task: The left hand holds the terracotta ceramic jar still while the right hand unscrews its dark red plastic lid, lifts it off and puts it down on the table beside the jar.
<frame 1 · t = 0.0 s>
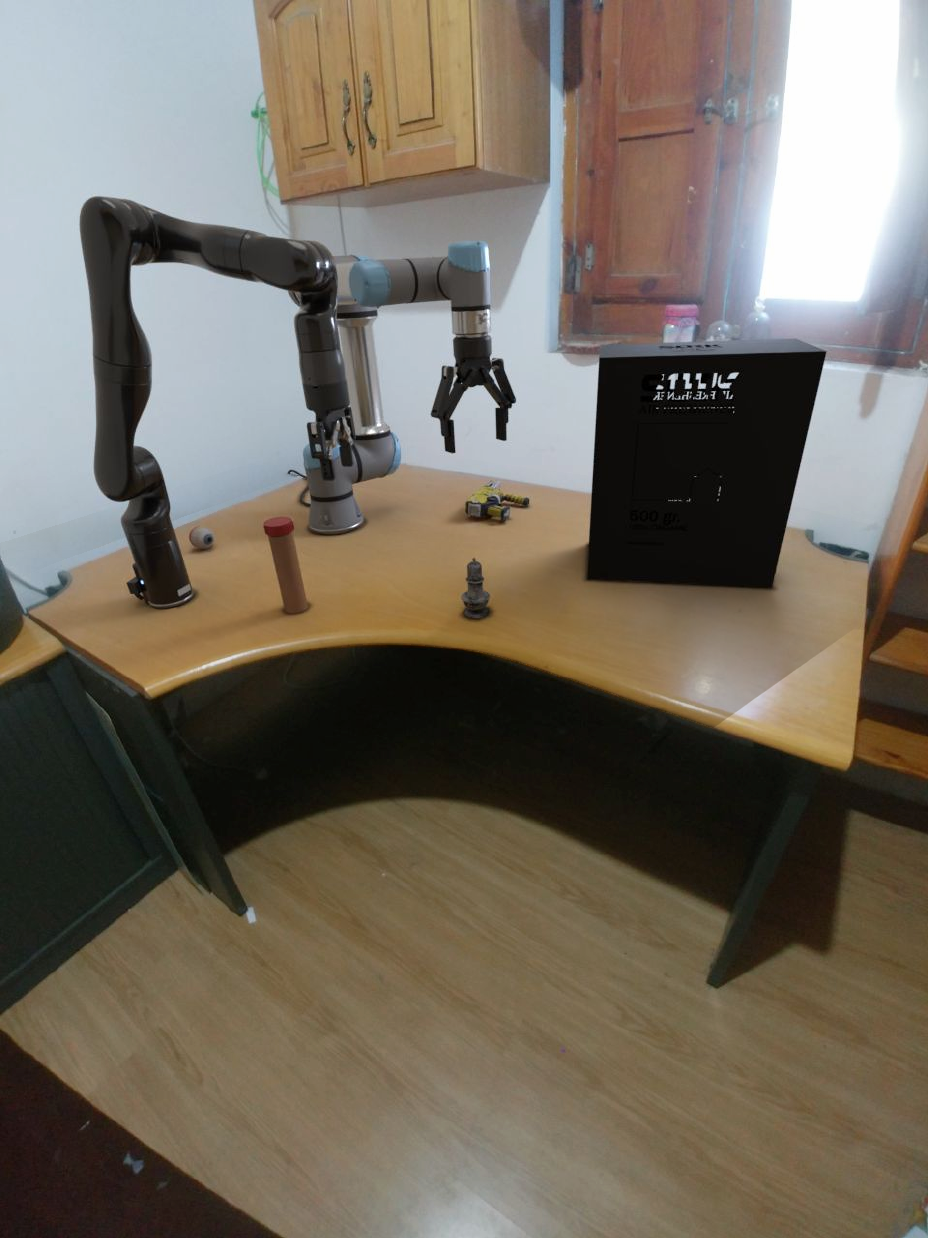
left hand: (339, 472, 110), 29 cm above the table, tool pointing down, fingers open, 8 cm apart
right hand: (476, 445, 127), 28 cm above the table, tool pointing down, fingers open, 13 cm apart
cardboard box: (672, 564, 137), on the table
eyeball: (205, 548, 159), on the table
dark grey tiered figure: (476, 612, 122), on the table
toy gun: (501, 508, 175), on the table
jar: (296, 608, 128), on the table
lid: (277, 523, 118), point 19 cm above the table, screwed on, not yet turned
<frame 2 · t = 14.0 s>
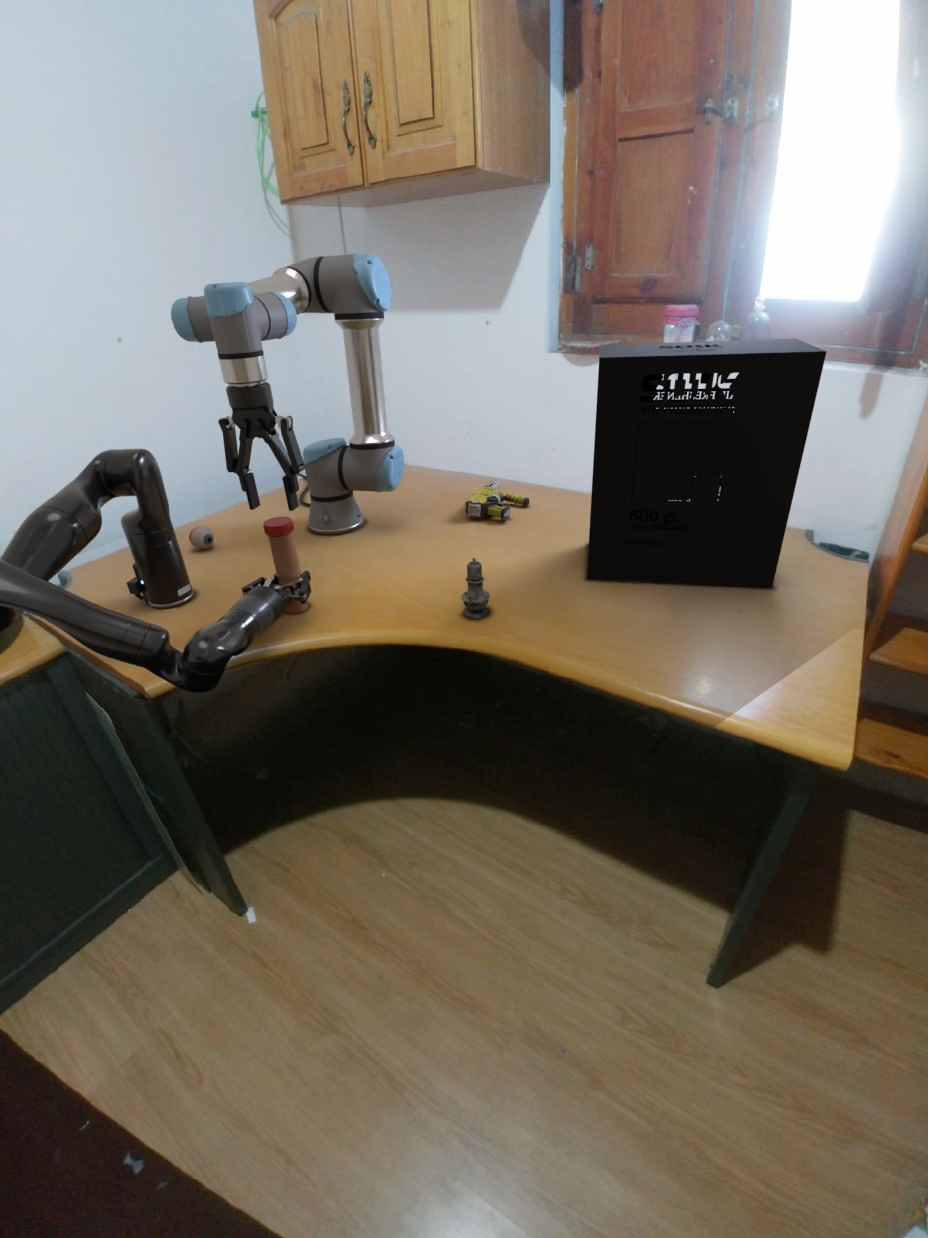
left hand: (296, 574, 127), 7 cm above the table, tool horizontal, fingers closed on jar, 5 cm apart
right hand: (274, 507, 117), 22 cm above the table, tool pointing down, fingers open, 8 cm apart
jar: (296, 608, 128), on the table, touching left hand
everything else where it was.
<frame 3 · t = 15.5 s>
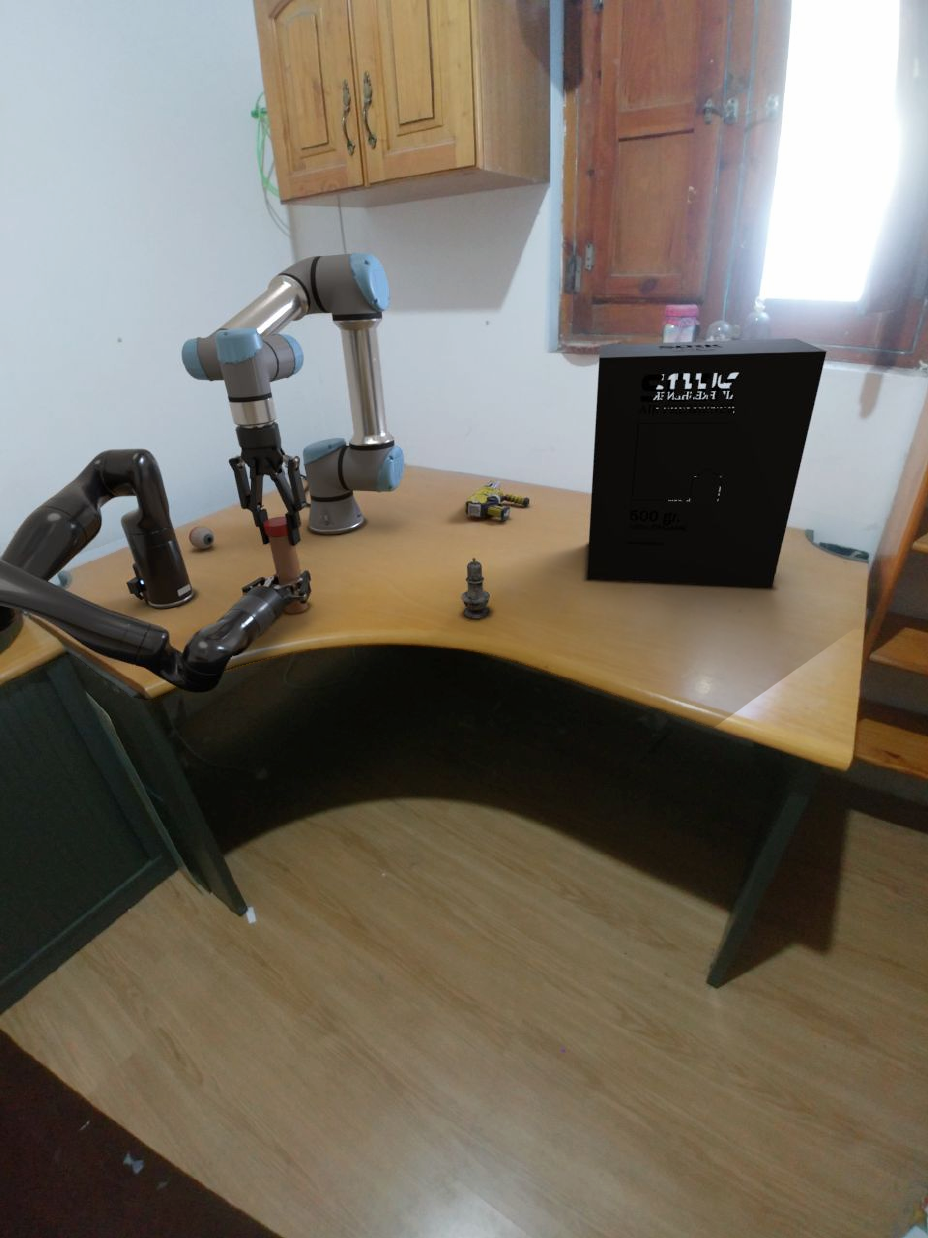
left hand: (296, 574, 127), 7 cm above the table, tool horizontal, fingers closed on jar, 5 cm apart
right hand: (282, 542, 120), 15 cm above the table, tool pointing down, fingers closed on lid, 5 cm apart
jar: (296, 608, 128), on the table, touching left hand
lid: (277, 523, 118), point 19 cm above the table, screwed on, not yet turned, touching right hand
everything else where it was.
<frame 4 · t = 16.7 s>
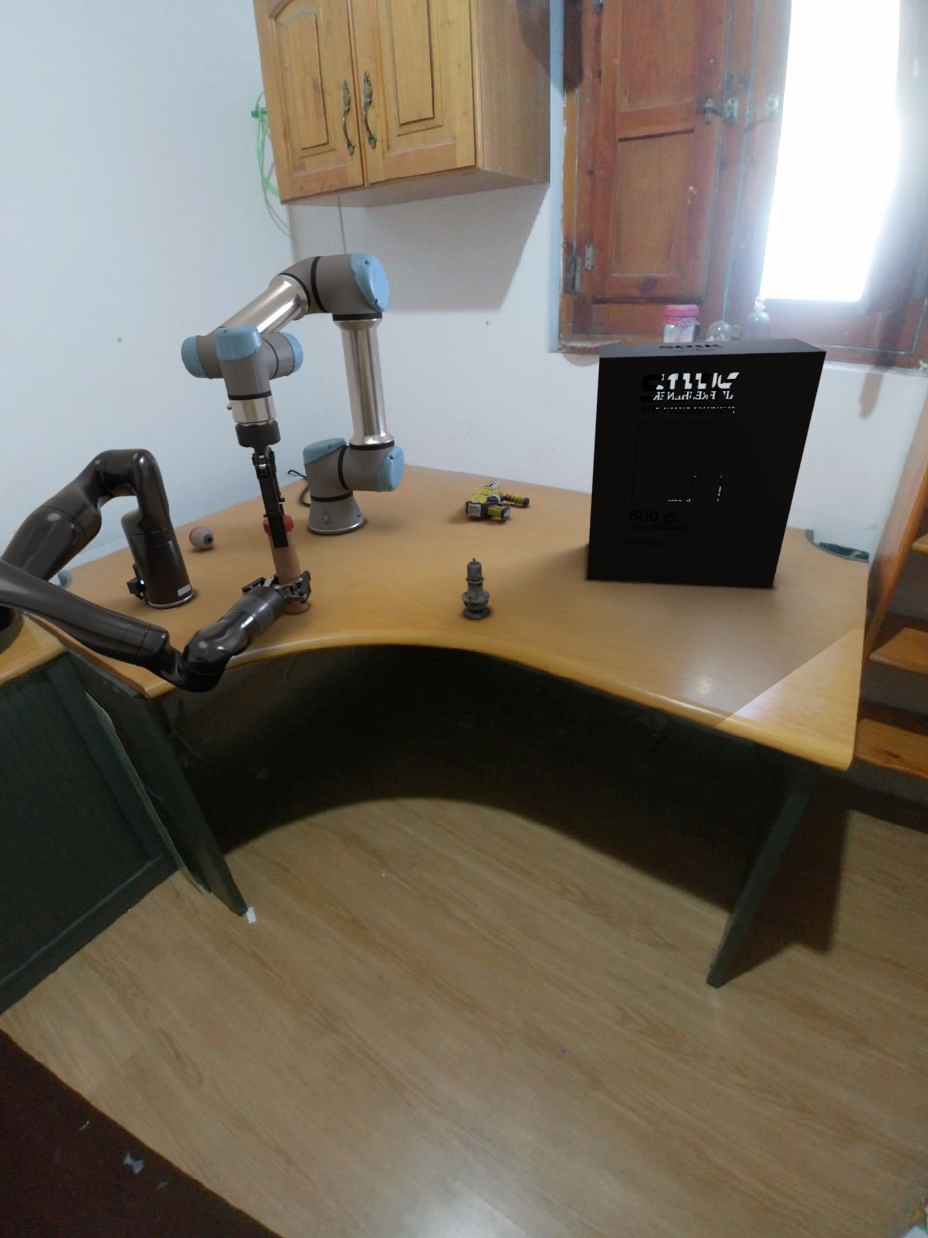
left hand: (296, 574, 127), 7 cm above the table, tool horizontal, fingers closed on jar, 5 cm apart
right hand: (281, 540, 120), 15 cm above the table, tool pointing down, fingers closed on lid, 5 cm apart
jar: (296, 608, 128), on the table, touching left hand
lid: (277, 521, 118), point 19 cm above the table, off its thread, touching right hand
everything else where it was.
when the right hand's fingers open (0 cm above the table, at t = 22.4 s): lid stays where it is, point 2 cm above the table.
when the left hand's fingers open (7 cm above the table, at t = 23.6 s): jar stays where it is, on the table.
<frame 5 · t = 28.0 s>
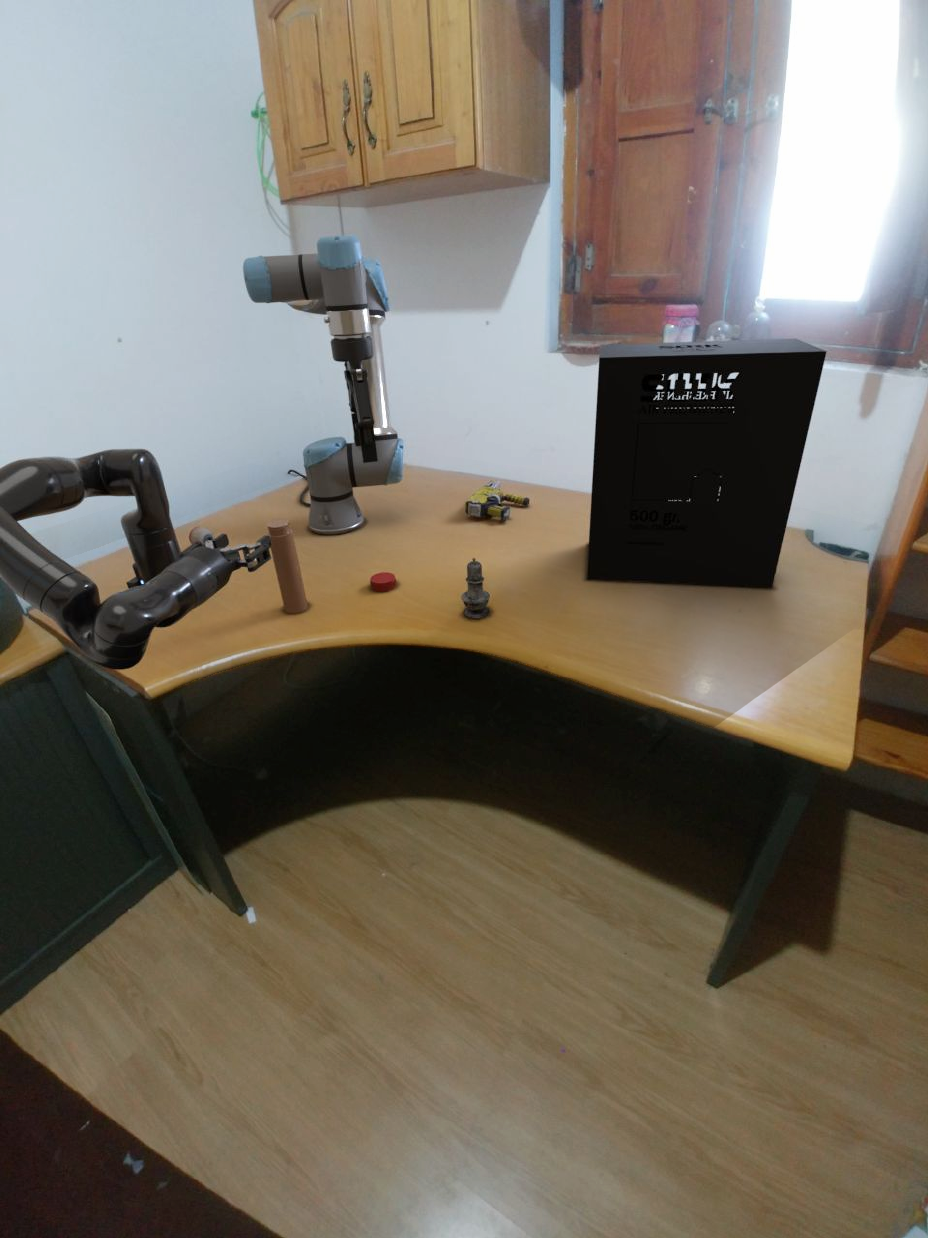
left hand: (247, 539, 109), 20 cm above the table, tool horizontal, fingers open, 8 cm apart
right hand: (366, 453, 120), 30 cm above the table, tool pointing down, fingers open, 13 cm apart
jar: (296, 608, 128), on the table
lid: (382, 579, 134), point 2 cm above the table, off its thread
everything else where it was.
at the end: lid came off its thread; lid point 1.7 cm above the table; the left hand is holding nothing; the right hand is holding nothing; jar tilted 0°; jar moved 0.0 cm from its start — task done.
